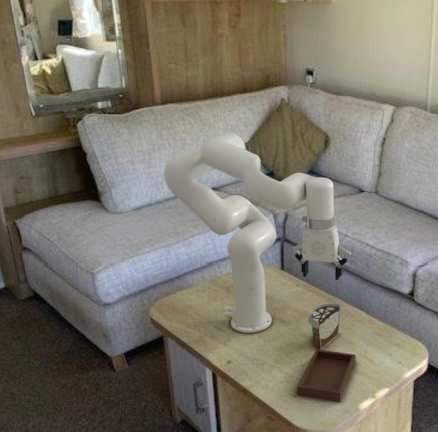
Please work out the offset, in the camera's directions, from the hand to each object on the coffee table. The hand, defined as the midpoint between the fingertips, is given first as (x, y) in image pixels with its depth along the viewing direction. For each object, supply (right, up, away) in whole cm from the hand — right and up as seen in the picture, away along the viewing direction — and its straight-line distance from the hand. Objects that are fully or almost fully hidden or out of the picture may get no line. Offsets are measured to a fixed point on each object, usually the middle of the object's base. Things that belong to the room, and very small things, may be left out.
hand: (321, 276), depth 180 cm
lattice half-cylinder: (-1, -20, +8) cm, 21 cm away
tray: (+2, -27, -10) cm, 29 cm away
